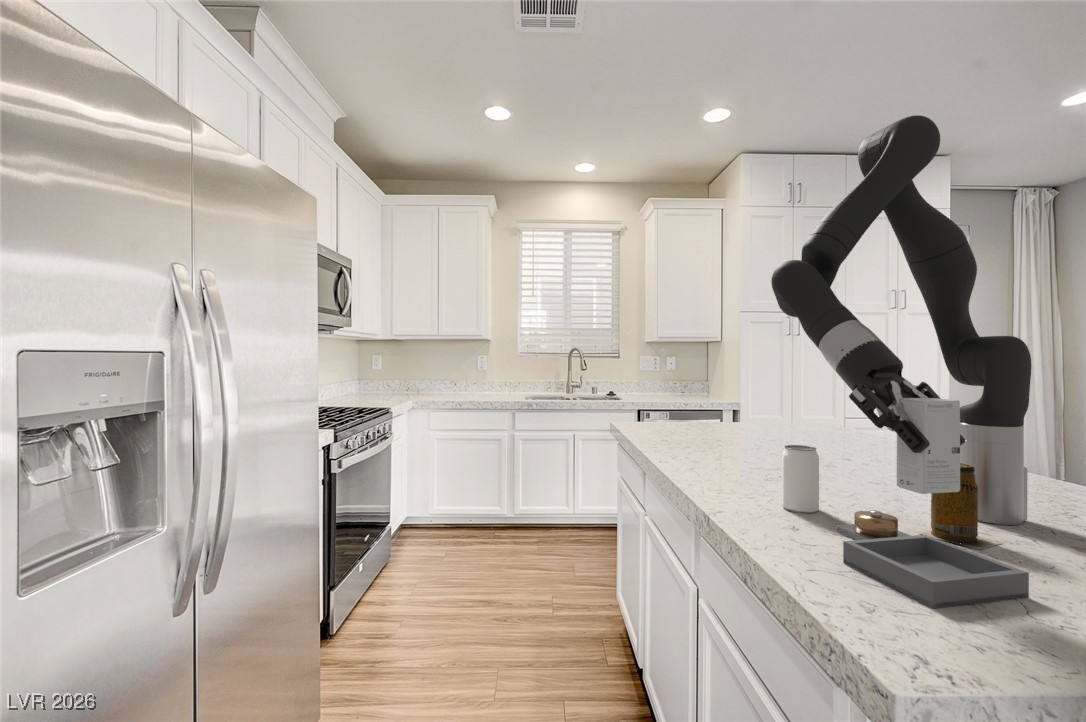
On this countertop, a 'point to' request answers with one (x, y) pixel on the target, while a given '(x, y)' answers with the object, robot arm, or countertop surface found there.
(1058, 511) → the countertop surface
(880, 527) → the service bell
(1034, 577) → the countertop surface
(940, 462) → the skincare box
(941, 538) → the condiment
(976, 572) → the tray
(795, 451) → the can
